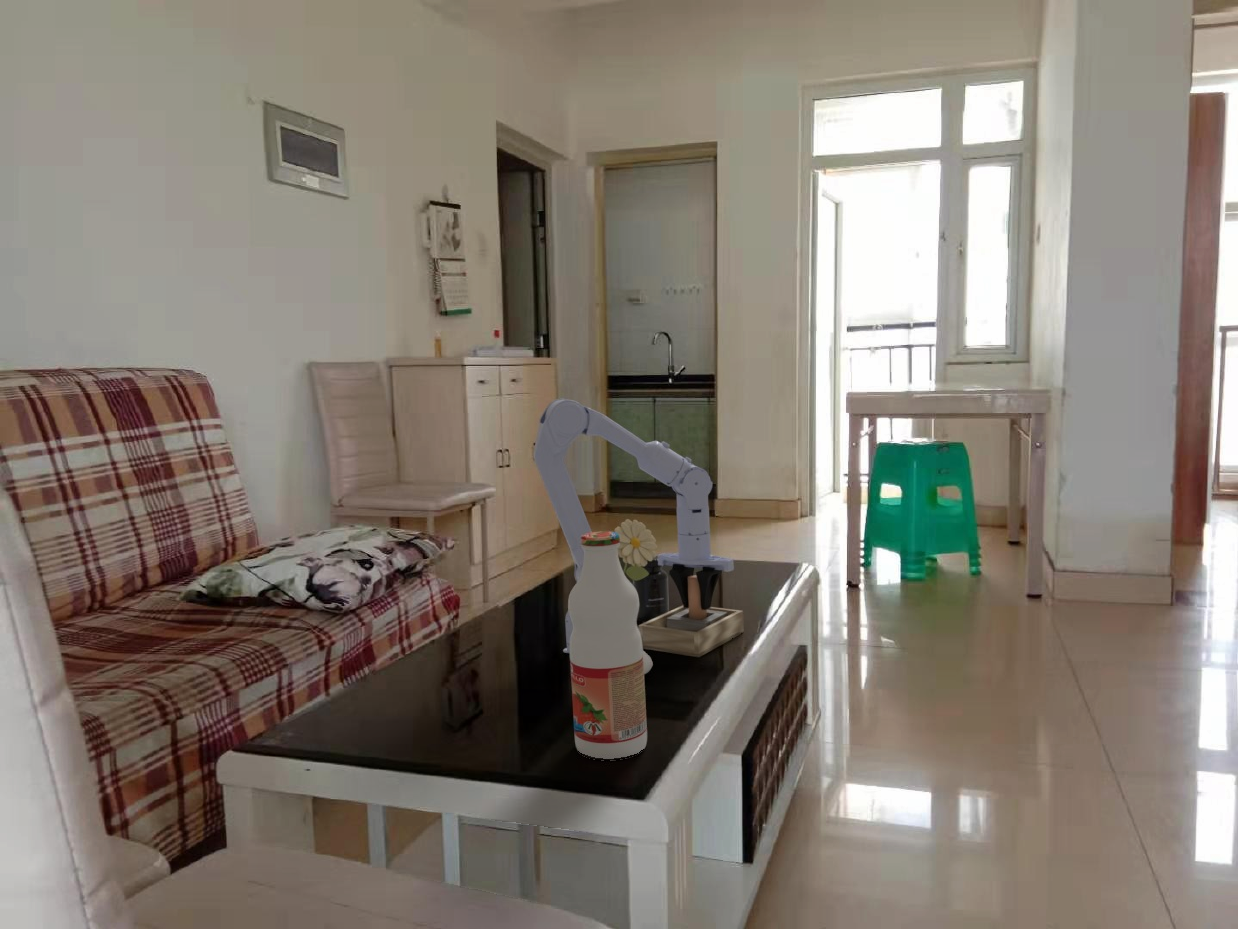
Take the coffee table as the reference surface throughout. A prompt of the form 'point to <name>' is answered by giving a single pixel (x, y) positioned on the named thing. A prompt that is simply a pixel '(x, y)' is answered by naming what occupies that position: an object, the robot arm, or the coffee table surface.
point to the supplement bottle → (652, 592)
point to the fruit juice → (606, 655)
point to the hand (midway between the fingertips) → (697, 607)
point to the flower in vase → (636, 557)
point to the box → (691, 631)
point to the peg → (695, 599)
